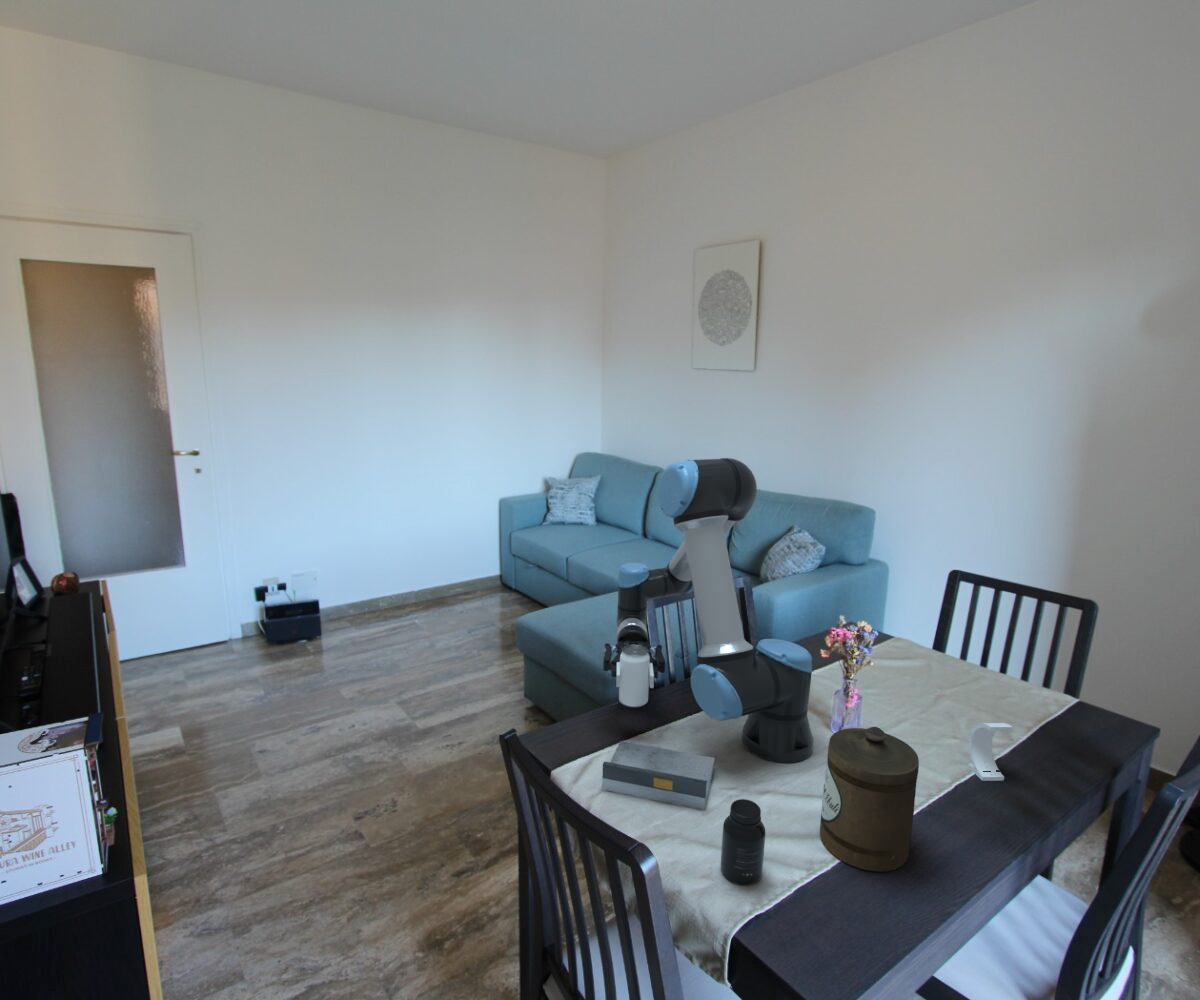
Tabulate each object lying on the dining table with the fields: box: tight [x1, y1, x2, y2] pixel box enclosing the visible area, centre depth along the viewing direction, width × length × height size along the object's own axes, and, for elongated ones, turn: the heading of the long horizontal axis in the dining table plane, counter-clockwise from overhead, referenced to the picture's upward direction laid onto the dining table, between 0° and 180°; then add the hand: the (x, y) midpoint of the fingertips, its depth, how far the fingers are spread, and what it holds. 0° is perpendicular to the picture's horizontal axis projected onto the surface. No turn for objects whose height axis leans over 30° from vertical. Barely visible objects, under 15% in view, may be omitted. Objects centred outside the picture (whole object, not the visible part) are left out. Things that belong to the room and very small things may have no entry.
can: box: [618, 645, 650, 708], centre depth 154 cm, size 6×6×12 cm
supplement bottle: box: [720, 798, 766, 886], centre depth 115 cm, size 7×7×12 cm
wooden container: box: [819, 726, 920, 873], centre depth 122 cm, size 15×15×22 cm
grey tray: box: [601, 740, 716, 811], centre depth 140 cm, size 20×14×6 cm
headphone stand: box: [967, 722, 1013, 782], centre depth 145 cm, size 5×6×12 cm
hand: (635, 681), depth 148 cm, fingers closed on can, 6 cm apart
